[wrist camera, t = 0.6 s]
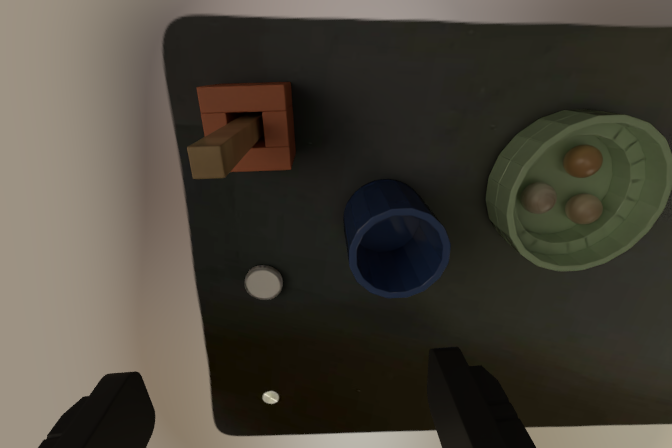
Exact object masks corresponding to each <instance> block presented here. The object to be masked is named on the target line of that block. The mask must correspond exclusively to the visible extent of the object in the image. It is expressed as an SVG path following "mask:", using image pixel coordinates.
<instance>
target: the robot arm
mask: <svg viewBox="0 0 672 448" xmlns="http://www.w3.org/2000/svg"><path fill="white" fill-rule="evenodd" d="M427 394H428V402H429V407H430V411H431V414H432V418H433V421H434V424H435V427H436V430H437V433H438V436H439V439H440V442H441V445H442V448H536V446H535V445H534V443H533V441H532V439H531V438H530V436H529V434H528V432H527V431H526V429H525V427H524V425H523V424H522V422H521V420H520V419H518V416H517V413H516V411H515V410H514V408H513V406H512V404H511V403H509V400H508V397H507V396H506V394H505V392H504V390H503V389H502V387H501V385H500V383H499V382H498V380H497V379H496V378H495V377H493V376H492V375H491V374H490V373H489V372H488V371H487V370H486V369H485V368H483V367H482V366H468V364H467V362H466V360H465V358H464V356H463V354H462V352H461V350H460V349H459V348H458V347H448V348H436V349H430V351H429V364H428V383H427ZM154 424H155V411H154V408H153V405H152V402H151V400H150V397H149V395H148V392H147V389H146V387H145V384H144V381H143V379H142V376H141V375H140V373H138V372H125V373H112V374H107V375H105V376H104V377H103V378H102V379H101V380H100V381H99V383H98V384H97V386H96V387H95V388H94V390H93V391H92V393H91V394H90V396H85V397H82V398H81V399H80V400H79V401H78V402H77V403H76V404H75V405H73V406H72V407H71V408H70V409H69V410H67V411H66V412H65V413H64V414H63V415H62V416H61V418H60V419H59V420H58V422H57V423H56V424H55V426H54V427H53V428H52V430H51V431H50V432H49V434H48V435H47V439H46V440H44V441H43V442H42V443H41V445H40V446H39V447H38V448H146V446H147V444H148V442H149V440H150V438H151V435H152V433H153V429H154Z"/></svg>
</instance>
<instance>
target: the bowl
mask: <svg viewBox="0 0 672 448" xmlns="http://www.w3.org/2000/svg"><path fill="white" fill-rule="evenodd" d="M578 145H591V146H594V147H596V148H597V149H599V151H600V152H601V153H602V156H603V163H602V166H601V168H600V169H599V170H598V171H597V172H596V173H595V174H593V175H592V176H589V177H586V178H576V177H573V176H571V175H569V174H568V173H567V172H566V171H565V169H564V167H563V159H564V156H565V154H566V153H567V152H568V151H569V150H570V149H572V148H573V147H575V146H578ZM536 182H543V183H547V184H549V185H550V186H552V187H553V188H554V190H555V192H556V194H557V201H556V204H555V205H554V207H553V208H552V209H551V210H549V211H548V212H546V213H542V214H534V213H530V212H528V211H527V210H526V209H525V208H524V207H523V206H522V204H521V200H520V197H521V193H522V191H523V190H524V188H525V187H527V186H528V185H530V184H532V183H536ZM671 190H672V153H671V151H670V148H669V145H668V142H667V140H666V138H665V137H664V136H663V135H662V134H661V133H660V132H658V131H657V130H656V129H655V128H654V127H653V126H652V125H651V124H650V123H649V122H646V121H643V120H640V119H637V118H634V117H631V116H629V115H624V114H617V113H611V112H604V111H597V110H590V109H578V110H562V111H560V112H557V113H554V114H551V115H548V116H545V117H542V118H540V119H538V120H536V121H535V122H534V123H532V124H531V125H529V126H528V127H526V128H525V129H524V130H522V131H521V132H519V133H518V134H517V135H515V137H514V138H513V139H512V140H511V141H510V143H509V144H508V145H507V146H506V147H505V148H504V150H503V151H502V152H501V153H500V155H499V156H498V158H497V160H496V162H495V165H494V167H493V169H492V171H491V173H490V175H489V178H488V185H487V191H486V205H487V210H488V215H489V219H490V221H491V223H492V224H493V226H494V227H495V229H496V230H497V232H498V233H499V235H500V236H501V237H502V238H504V239H505V240H506V241H507V242H508V243H509V244H510V245H511V246H512V247H513V248H514V249H515V250H517V251H518V252H519V253H520V254H521V255H522V256H524V257H525V258H527V259H528V260H529V261H531V262H532V263H534V264H535V265H537V266H540V267H543V268H547V269H551V270H555V271H577V270H584V269H587V268H591V267H594V266H597V265H600V264H604V263H606V262H608V261H610V260H612V259H613V258H615V257H617V256H619V255H620V254H622V253H624V252H625V251H627V250H628V249H630V248H631V247H632V246H633V245H634V244H636V243H637V242H638V241H639V240H640V239H641V238H642V237H643V236H644V235H645V234H647V233H648V232H649V230H650V229H651V227H652V226H653V225H654V223H655V222H656V220H657V219H658V217H659V216H660V215H661V213H662V212H663V210H664V209H665V206H666V203H667V201H668V198H669V195H670V192H671ZM582 193H587V194H591V195H594V196H596V197H597V198H598V199H599V200H600V201H601V203H602V206H603V211H602V214H601V216H600V217H599V219H597V220H596V221H595V222H593V223H590V224H577V223H574V222H572V221H571V220H570V219H569V218H568V217H567V215H566V213H565V206H566V203H567V201H568V200H569V199H570V198H571V197H573V196H575V195H577V194H582Z"/></svg>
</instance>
